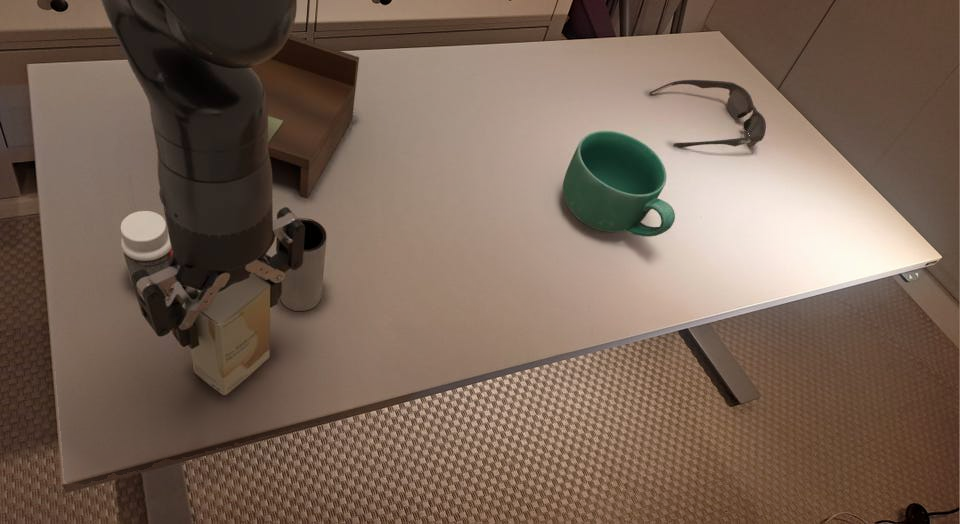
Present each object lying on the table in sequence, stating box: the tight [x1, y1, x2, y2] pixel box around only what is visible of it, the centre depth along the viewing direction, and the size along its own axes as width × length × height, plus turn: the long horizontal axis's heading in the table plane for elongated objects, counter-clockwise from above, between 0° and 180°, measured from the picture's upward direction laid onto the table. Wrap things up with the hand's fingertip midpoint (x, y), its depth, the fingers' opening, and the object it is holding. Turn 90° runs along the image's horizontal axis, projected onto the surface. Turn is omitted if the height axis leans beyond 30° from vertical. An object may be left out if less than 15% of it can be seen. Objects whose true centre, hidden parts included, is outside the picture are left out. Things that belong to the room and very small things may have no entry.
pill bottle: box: [120, 210, 173, 290], centre depth 67 cm, size 5×5×8 cm
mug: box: [562, 130, 676, 238], centre depth 89 cm, size 17×13×10 cm
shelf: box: [251, 34, 360, 199], centre depth 84 cm, size 17×18×10 cm
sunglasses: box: [649, 79, 767, 149], centre depth 113 cm, size 16×17×5 cm
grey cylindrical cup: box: [279, 217, 328, 312], centre depth 69 cm, size 4×4×10 cm
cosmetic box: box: [183, 273, 271, 396], centre depth 61 cm, size 6×4×12 cm
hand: (230, 319), depth 60 cm, fingers open, 7 cm apart
